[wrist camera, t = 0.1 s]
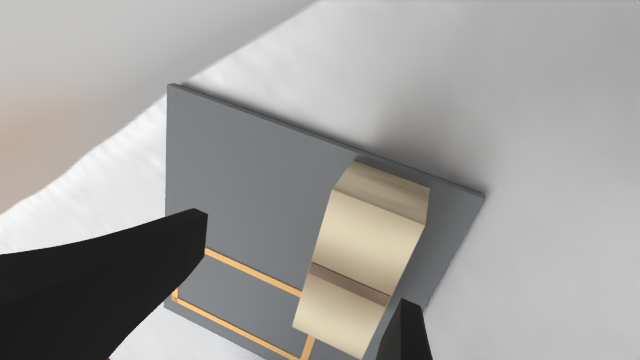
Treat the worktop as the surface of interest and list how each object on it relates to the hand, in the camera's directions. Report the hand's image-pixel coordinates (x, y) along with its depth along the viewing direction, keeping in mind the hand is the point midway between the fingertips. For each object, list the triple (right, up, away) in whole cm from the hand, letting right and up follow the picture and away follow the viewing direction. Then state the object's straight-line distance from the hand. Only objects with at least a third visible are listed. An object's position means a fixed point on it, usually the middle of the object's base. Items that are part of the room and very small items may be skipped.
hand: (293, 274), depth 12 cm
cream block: (+4, -1, +10) cm, 10 cm away
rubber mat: (-2, -3, +14) cm, 14 cm away
